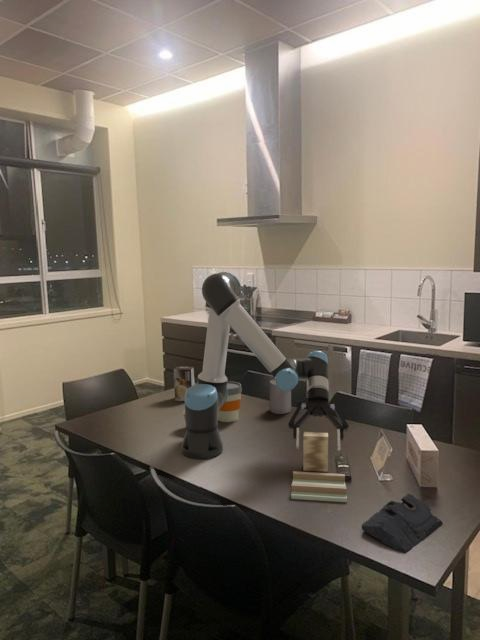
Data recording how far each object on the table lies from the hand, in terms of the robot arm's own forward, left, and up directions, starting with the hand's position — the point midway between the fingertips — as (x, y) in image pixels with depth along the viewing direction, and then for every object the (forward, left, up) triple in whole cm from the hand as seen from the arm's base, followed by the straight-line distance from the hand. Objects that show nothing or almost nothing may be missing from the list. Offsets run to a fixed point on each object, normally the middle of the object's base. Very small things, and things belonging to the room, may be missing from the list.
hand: (318, 448), depth 162 cm
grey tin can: (-17, +58, -7) cm, 61 cm away
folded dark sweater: (+21, -32, -8) cm, 39 cm away
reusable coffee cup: (-39, +45, -7) cm, 60 cm away
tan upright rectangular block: (-1, 0, -7) cm, 7 cm away
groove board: (0, -14, -7) cm, 16 cm away
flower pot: (-50, +32, -7) cm, 60 cm away
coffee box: (-65, +70, -7) cm, 95 cm away
